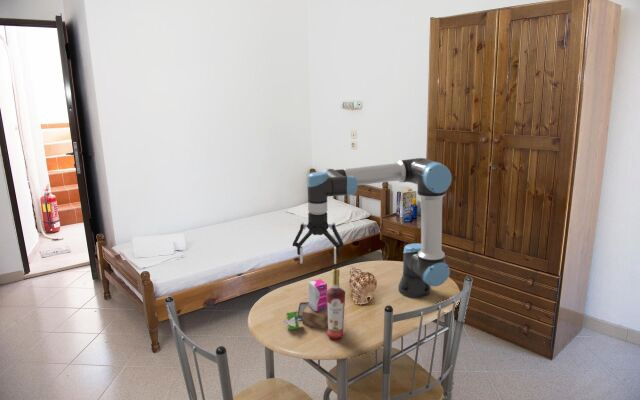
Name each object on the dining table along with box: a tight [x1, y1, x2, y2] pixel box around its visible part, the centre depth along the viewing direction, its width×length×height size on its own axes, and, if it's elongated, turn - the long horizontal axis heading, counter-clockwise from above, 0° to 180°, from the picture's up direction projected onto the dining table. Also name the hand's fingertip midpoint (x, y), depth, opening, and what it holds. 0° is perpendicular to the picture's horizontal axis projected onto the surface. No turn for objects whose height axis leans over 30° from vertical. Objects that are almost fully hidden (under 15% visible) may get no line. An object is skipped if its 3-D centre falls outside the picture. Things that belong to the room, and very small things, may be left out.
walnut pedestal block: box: [301, 304, 328, 330], centre depth 193 cm, size 10×10×6 cm
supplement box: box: [308, 278, 328, 312], centre depth 190 cm, size 6×6×12 cm
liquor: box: [326, 268, 346, 340], centre depth 178 cm, size 7×7×28 cm
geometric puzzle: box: [283, 311, 303, 331], centre depth 187 cm, size 7×7×8 cm
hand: (318, 262), depth 186 cm, fingers open, 13 cm apart
